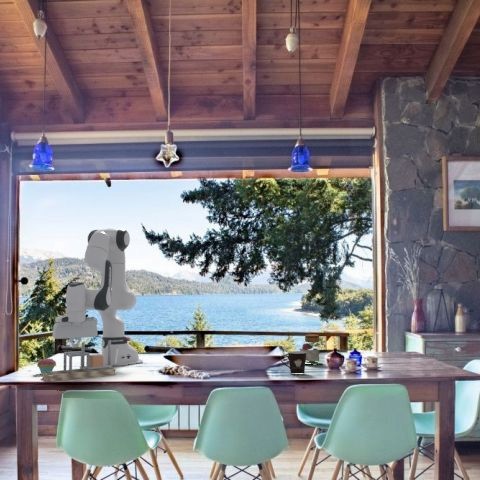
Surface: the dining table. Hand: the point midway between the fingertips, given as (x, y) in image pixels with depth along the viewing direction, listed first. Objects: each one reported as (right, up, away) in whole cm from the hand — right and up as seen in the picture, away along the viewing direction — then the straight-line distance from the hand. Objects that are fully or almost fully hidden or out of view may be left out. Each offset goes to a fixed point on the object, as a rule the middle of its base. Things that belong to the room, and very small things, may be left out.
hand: (75, 347), depth 276 cm
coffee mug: (+102, -14, +7) cm, 103 cm away
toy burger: (+113, -15, +37) cm, 120 cm away
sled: (+8, -10, +5) cm, 14 cm away
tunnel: (0, -11, 0) cm, 11 cm away
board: (+2, -13, +1) cm, 14 cm away
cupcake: (-16, -14, +9) cm, 23 cm away
